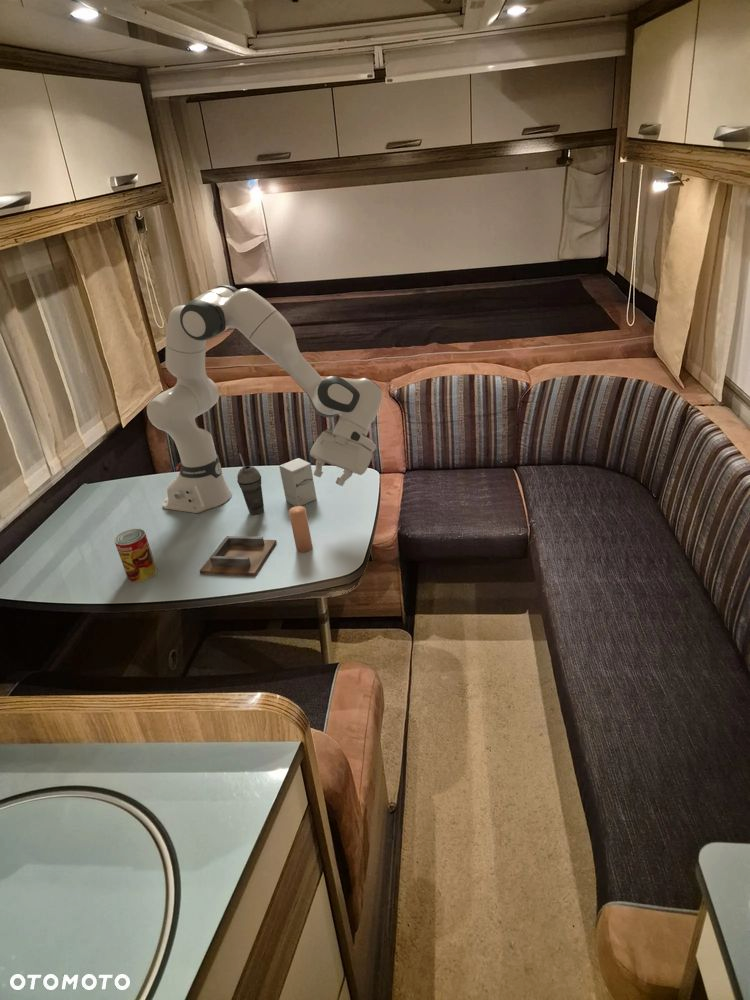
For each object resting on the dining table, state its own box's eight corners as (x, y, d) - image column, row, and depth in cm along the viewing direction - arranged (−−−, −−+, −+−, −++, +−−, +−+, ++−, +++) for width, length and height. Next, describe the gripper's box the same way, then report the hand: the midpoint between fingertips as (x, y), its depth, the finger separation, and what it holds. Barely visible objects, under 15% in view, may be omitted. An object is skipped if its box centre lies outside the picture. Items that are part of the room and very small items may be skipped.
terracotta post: (294, 552, 175) (286, 514, 170) (299, 543, 179) (291, 505, 173) (309, 552, 174) (302, 514, 169) (314, 543, 178) (307, 506, 172)
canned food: (122, 575, 175) (109, 538, 169) (148, 562, 179) (135, 525, 174) (136, 585, 170) (123, 547, 164) (162, 571, 174) (150, 534, 169)
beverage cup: (263, 518, 194) (250, 458, 185) (241, 518, 196) (227, 459, 186) (271, 506, 200) (259, 448, 191) (250, 506, 202) (236, 448, 193)
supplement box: (298, 508, 197) (291, 471, 191) (285, 500, 203) (278, 465, 197) (317, 499, 201) (311, 463, 195) (304, 492, 207) (298, 456, 201)
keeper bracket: (200, 573, 171) (197, 563, 169) (225, 541, 185) (222, 531, 183) (255, 576, 167) (252, 565, 165) (276, 542, 181) (274, 532, 179)
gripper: (317, 423, 181) (296, 467, 180) (367, 438, 168) (344, 485, 167) (331, 432, 186) (311, 475, 185) (381, 447, 172) (359, 493, 171)
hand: (327, 480), depth 176 cm, fingers open, 8 cm apart
